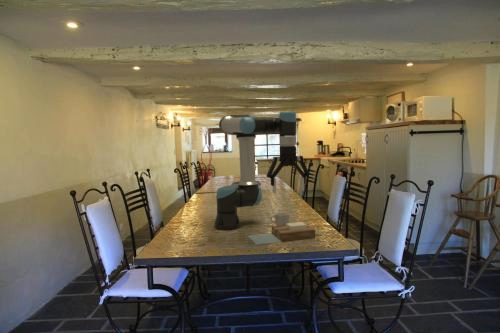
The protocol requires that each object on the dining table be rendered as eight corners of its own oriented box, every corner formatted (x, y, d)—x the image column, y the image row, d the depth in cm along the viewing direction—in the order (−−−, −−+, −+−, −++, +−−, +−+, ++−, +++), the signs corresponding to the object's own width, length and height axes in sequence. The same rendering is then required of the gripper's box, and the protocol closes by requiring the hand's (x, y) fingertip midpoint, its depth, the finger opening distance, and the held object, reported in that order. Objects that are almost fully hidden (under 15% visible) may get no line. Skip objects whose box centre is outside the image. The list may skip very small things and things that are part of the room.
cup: (269, 228, 183) (269, 214, 182) (271, 224, 191) (270, 211, 190) (289, 229, 181) (289, 215, 180) (289, 225, 189) (289, 211, 188)
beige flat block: (286, 227, 170) (286, 223, 170) (301, 225, 173) (301, 221, 173) (290, 230, 165) (290, 226, 165) (306, 228, 167) (306, 224, 167)
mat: (247, 236, 169) (247, 235, 169) (270, 233, 173) (270, 233, 173) (256, 245, 155) (256, 244, 155) (281, 242, 159) (281, 241, 159)
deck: (272, 233, 173) (271, 226, 172) (302, 230, 178) (302, 223, 178) (282, 241, 159) (282, 233, 159) (315, 237, 165) (315, 230, 164)
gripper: (264, 146, 141) (265, 194, 143) (316, 145, 147) (316, 191, 149) (259, 146, 148) (260, 192, 150) (309, 144, 154) (309, 188, 156)
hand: (288, 191), depth 150 cm, fingers open, 13 cm apart
